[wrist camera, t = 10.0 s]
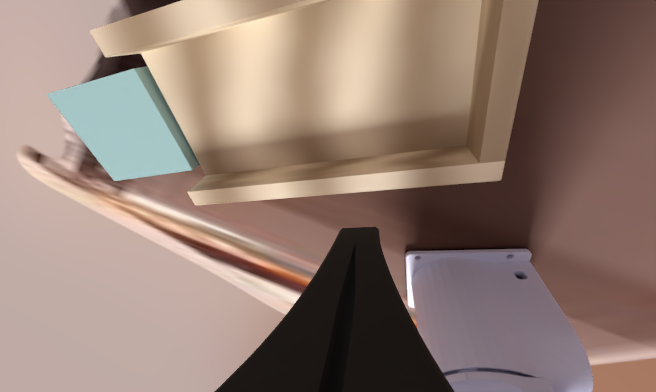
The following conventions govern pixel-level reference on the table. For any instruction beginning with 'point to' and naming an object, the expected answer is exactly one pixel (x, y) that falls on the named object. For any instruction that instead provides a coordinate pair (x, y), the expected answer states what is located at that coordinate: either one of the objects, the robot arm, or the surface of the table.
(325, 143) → the tray
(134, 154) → the pale teal square slab
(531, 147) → the table surface
